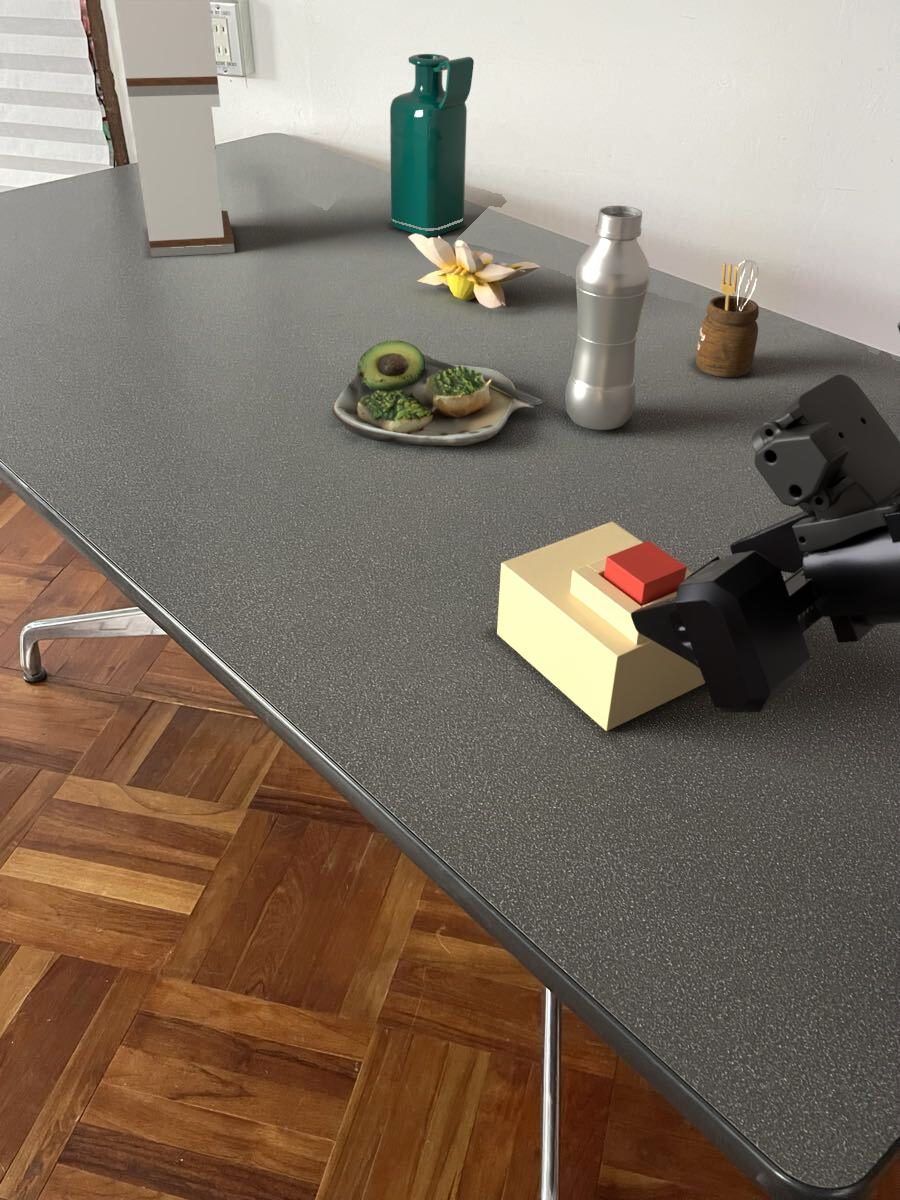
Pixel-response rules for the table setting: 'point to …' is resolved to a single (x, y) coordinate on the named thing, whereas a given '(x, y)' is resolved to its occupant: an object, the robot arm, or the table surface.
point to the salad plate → (425, 399)
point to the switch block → (588, 629)
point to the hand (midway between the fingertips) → (686, 585)
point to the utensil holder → (728, 331)
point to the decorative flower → (468, 270)
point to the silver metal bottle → (608, 321)
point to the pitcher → (430, 146)
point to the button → (644, 572)
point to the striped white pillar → (175, 122)
